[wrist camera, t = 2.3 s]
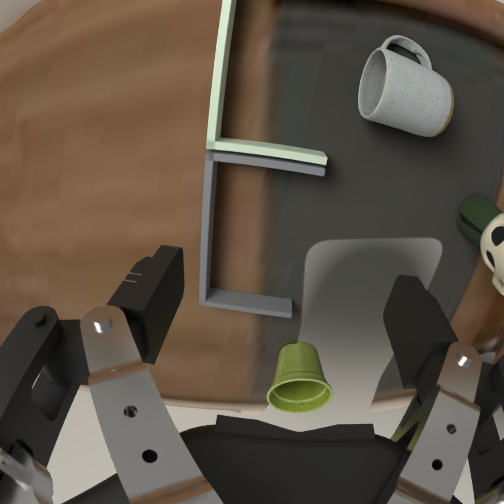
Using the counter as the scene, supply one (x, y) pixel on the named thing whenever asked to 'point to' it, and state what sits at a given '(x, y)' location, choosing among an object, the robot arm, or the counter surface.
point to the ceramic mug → (405, 91)
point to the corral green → (218, 101)
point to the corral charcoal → (208, 294)
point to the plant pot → (299, 380)
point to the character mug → (485, 233)
